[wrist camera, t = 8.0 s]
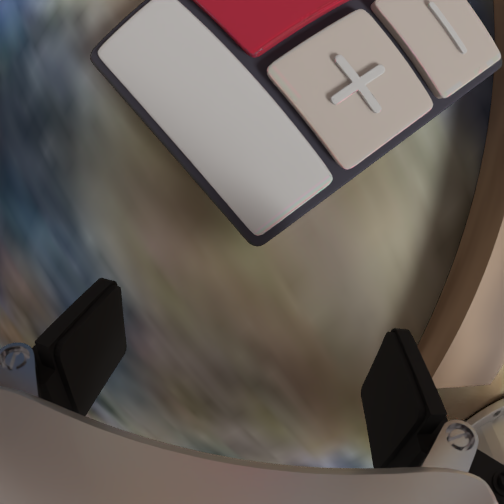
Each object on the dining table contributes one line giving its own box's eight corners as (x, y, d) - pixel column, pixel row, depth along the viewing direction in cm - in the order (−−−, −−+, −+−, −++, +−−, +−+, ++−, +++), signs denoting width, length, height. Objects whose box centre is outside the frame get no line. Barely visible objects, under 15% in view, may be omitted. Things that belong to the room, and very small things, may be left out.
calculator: (516, 63, 8) (254, 260, 12) (468, 70, 12) (256, 226, 16) (359, -117, 5) (75, 53, 9) (342, -77, 9) (118, 67, 13)
